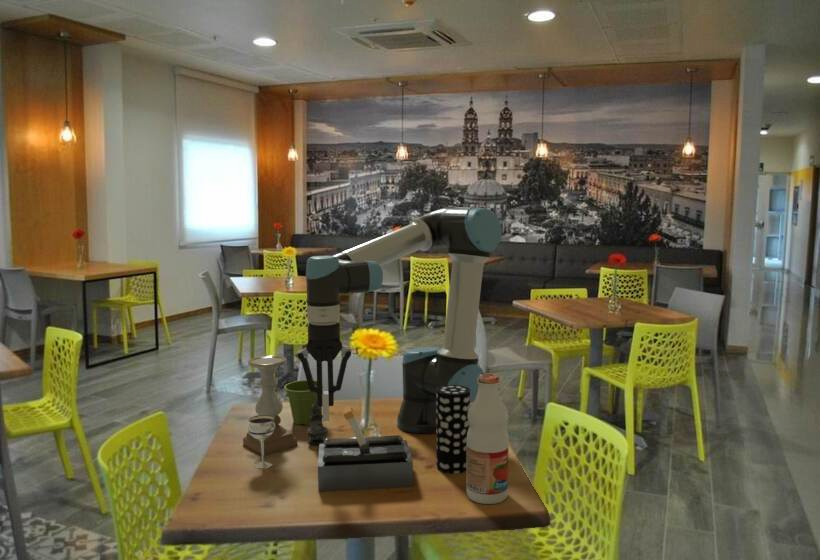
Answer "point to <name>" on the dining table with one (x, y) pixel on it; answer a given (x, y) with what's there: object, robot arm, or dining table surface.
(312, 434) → the salt shaker
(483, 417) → the fruit juice
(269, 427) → the wineglass
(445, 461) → the spotted tube
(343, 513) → the dining table surface
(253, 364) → the candle holder
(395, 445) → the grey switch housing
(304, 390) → the plant pot
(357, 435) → the breaker lever
